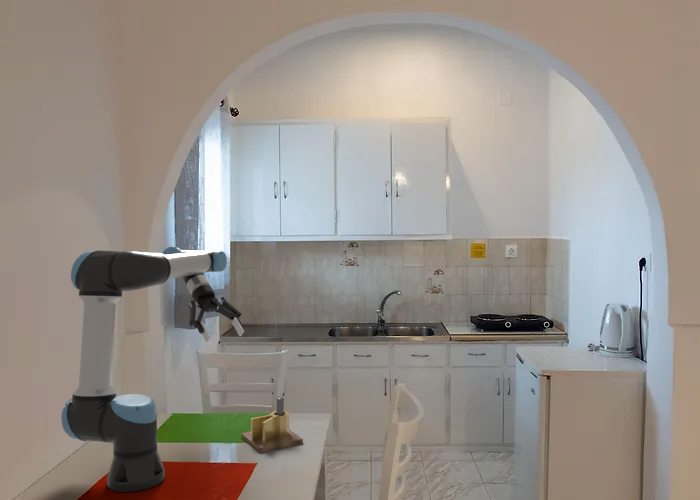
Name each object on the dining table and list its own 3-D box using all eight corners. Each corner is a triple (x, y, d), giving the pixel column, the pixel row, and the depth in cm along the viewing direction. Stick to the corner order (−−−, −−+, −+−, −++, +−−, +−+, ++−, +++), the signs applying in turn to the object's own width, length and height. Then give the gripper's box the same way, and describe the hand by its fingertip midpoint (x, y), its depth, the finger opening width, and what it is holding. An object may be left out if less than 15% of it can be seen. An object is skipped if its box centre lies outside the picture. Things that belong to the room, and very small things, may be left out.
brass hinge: (259, 445, 189) (258, 423, 189) (248, 437, 196) (248, 416, 196) (295, 437, 195) (295, 416, 195) (284, 430, 203) (283, 409, 203)
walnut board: (259, 452, 187) (259, 448, 187) (241, 437, 201) (241, 433, 201) (302, 443, 195) (302, 438, 194) (282, 429, 208) (282, 424, 208)
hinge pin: (277, 435, 197) (278, 399, 197) (275, 433, 199) (275, 397, 199) (284, 434, 199) (284, 398, 198) (281, 432, 201) (281, 396, 200)
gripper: (226, 294, 228) (250, 338, 218) (165, 300, 210) (189, 348, 200) (233, 281, 224) (259, 325, 214) (173, 286, 206) (197, 335, 196)
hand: (225, 336), depth 207 cm, fingers open, 13 cm apart
